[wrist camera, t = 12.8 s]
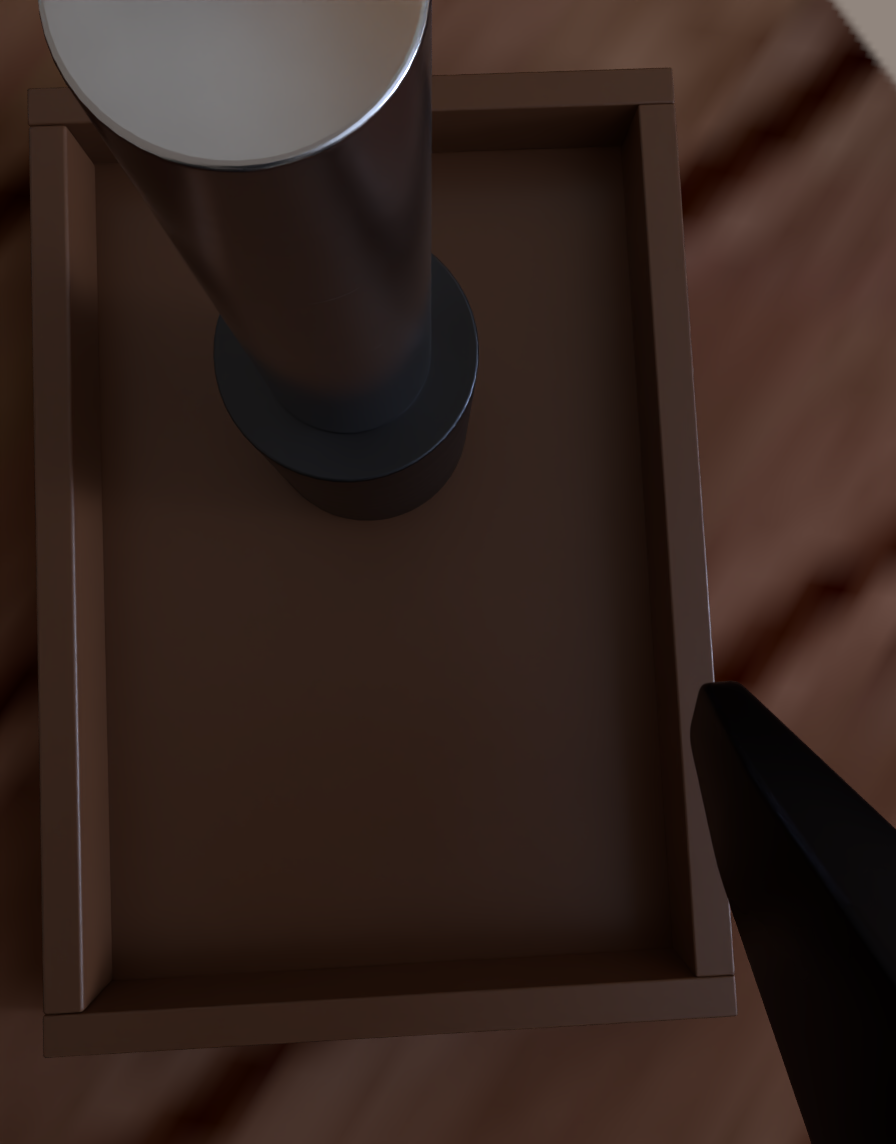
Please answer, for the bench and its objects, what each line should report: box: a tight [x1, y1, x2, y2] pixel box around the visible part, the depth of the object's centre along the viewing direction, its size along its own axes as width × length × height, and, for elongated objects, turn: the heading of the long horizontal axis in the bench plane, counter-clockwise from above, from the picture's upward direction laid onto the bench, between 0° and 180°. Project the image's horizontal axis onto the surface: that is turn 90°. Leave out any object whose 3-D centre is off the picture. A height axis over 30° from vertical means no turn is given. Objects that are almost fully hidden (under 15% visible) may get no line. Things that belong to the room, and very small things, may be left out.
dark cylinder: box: [38, 0, 479, 521], centre depth 12 cm, size 4×4×13 cm
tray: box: [28, 68, 737, 1058], centre depth 18 cm, size 20×14×2 cm
